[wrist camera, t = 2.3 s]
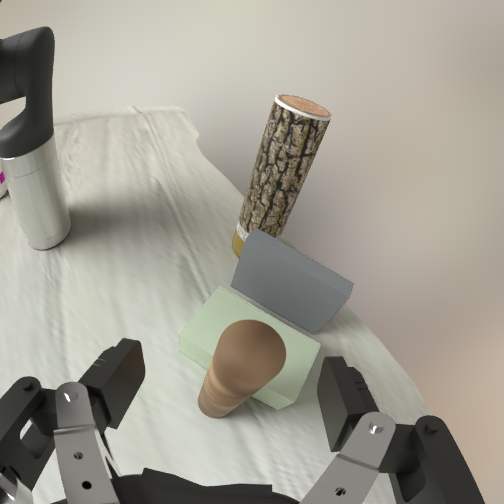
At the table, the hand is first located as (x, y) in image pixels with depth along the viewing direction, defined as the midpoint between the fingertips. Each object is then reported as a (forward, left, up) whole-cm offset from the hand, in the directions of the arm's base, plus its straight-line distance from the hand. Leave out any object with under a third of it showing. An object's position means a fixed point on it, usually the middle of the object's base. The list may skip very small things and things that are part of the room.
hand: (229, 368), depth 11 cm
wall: (+1, +20, -21) cm, 29 cm away
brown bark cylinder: (-8, +27, -21) cm, 35 cm away
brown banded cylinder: (0, +3, -21) cm, 21 cm away
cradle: (+1, +10, -21) cm, 23 cm away
